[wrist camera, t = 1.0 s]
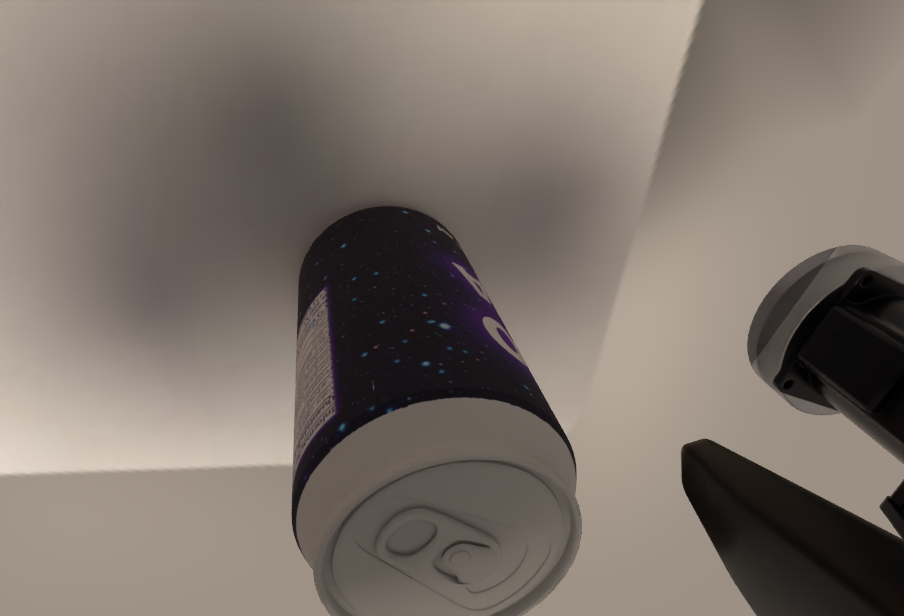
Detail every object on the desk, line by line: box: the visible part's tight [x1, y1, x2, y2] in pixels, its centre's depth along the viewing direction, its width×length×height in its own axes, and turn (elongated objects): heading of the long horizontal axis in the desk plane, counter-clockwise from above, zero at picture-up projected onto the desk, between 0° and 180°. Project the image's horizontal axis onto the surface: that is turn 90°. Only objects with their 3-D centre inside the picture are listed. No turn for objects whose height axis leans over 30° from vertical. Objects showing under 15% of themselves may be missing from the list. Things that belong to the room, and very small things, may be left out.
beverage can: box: [292, 206, 582, 616], centre depth 16 cm, size 6×6×12 cm
